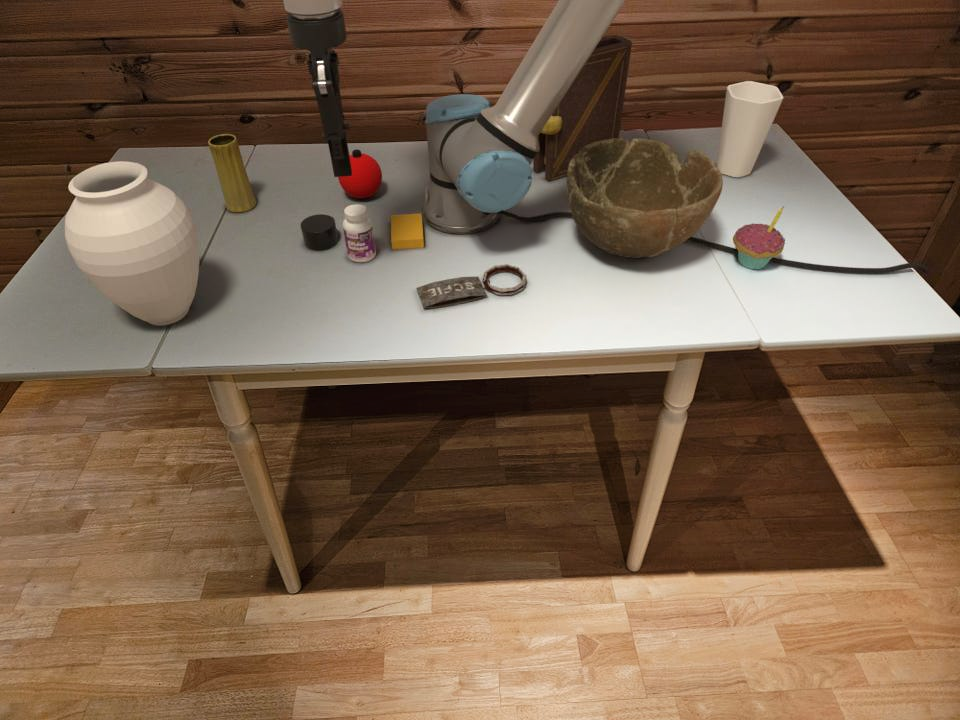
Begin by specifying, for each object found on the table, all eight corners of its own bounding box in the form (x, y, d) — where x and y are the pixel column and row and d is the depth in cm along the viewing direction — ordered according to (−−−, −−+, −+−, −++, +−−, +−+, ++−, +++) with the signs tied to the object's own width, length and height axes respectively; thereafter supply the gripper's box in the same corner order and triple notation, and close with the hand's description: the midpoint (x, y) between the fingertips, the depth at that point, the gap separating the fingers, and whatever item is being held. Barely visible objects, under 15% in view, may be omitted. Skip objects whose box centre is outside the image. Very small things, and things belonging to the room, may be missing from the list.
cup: (700, 172, 143) (719, 94, 131) (717, 154, 149) (736, 77, 137) (751, 186, 139) (775, 106, 127) (766, 167, 145) (790, 89, 133)
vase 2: (260, 198, 137) (243, 133, 128) (250, 213, 133) (231, 147, 123) (232, 197, 138) (213, 132, 128) (221, 212, 134) (200, 146, 124)
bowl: (601, 191, 138) (610, 122, 127) (725, 231, 126) (746, 158, 116) (531, 253, 122) (535, 180, 111) (666, 305, 110) (685, 229, 100)
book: (598, 146, 152) (612, 32, 135) (622, 161, 147) (639, 44, 130) (519, 171, 145) (522, 52, 127) (541, 187, 139) (547, 66, 122)
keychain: (414, 286, 115) (414, 277, 113) (518, 267, 119) (518, 258, 117) (424, 313, 109) (423, 304, 108) (532, 292, 113) (533, 283, 112)
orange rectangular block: (422, 222, 130) (421, 213, 129) (424, 247, 124) (423, 238, 122) (392, 224, 130) (390, 215, 128) (392, 249, 123) (391, 240, 122)
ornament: (339, 188, 140) (331, 143, 133) (380, 182, 142) (374, 137, 135) (344, 209, 134) (336, 164, 127) (388, 202, 136) (382, 157, 129)
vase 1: (98, 353, 103) (19, 214, 86) (124, 285, 116) (60, 153, 99) (214, 340, 105) (160, 202, 88) (227, 275, 118) (182, 143, 101)
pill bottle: (349, 265, 120) (340, 219, 113) (346, 249, 123) (338, 204, 117) (378, 261, 120) (372, 215, 114) (375, 245, 124) (368, 200, 118)
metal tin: (339, 231, 128) (335, 213, 125) (337, 249, 123) (333, 231, 121) (306, 233, 128) (302, 215, 125) (303, 251, 123) (298, 233, 120)
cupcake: (776, 253, 121) (798, 195, 112) (775, 280, 115) (798, 220, 107) (728, 245, 123) (745, 187, 114) (725, 271, 117) (743, 212, 109)
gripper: (289, -2, 91) (321, 156, 107) (280, 28, 82) (316, 197, 98) (344, -5, 91) (367, 153, 108) (340, 24, 82) (366, 193, 99)
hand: (343, 174), depth 103 cm, fingers closed
